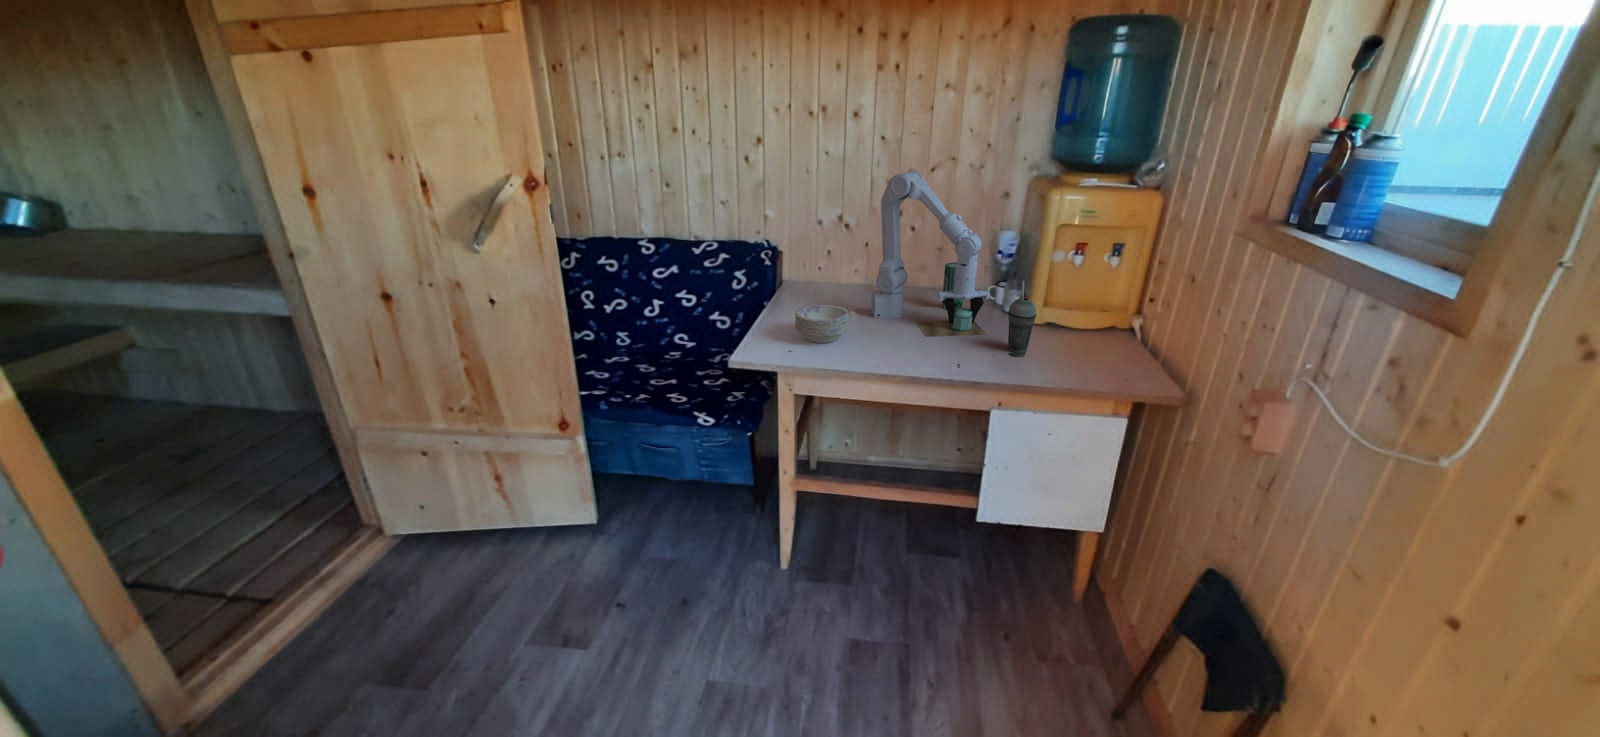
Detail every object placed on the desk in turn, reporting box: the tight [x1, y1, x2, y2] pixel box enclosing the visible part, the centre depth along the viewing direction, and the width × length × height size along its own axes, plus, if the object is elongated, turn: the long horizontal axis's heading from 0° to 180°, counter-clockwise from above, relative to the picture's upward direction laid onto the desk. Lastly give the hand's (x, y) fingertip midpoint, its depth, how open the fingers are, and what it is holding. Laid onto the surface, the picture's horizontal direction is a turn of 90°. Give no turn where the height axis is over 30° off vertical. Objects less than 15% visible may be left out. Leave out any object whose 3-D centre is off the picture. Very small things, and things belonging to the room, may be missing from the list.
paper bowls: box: [794, 304, 850, 344], centre depth 187 cm, size 15×15×8 cm
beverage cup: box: [1007, 280, 1038, 358], centre depth 173 cm, size 7×7×20 cm
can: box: [941, 261, 964, 311], centre depth 207 cm, size 6×6×15 cm
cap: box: [951, 307, 972, 330], centre depth 190 cm, size 5×5×5 cm
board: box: [914, 320, 988, 338], centre depth 192 cm, size 18×12×1 cm, turn 95°
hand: (961, 322), depth 191 cm, fingers closed on cap, 5 cm apart
